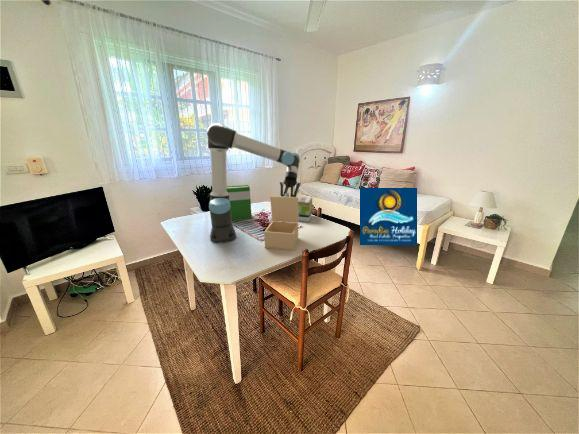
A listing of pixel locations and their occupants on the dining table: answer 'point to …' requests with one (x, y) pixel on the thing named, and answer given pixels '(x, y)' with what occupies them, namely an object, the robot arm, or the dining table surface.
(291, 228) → the carton
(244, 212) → the green cereal box
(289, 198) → the carton lid
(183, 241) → the dining table surface
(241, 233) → the dining table surface
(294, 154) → the robot arm
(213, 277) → the dining table surface
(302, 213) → the tea box
